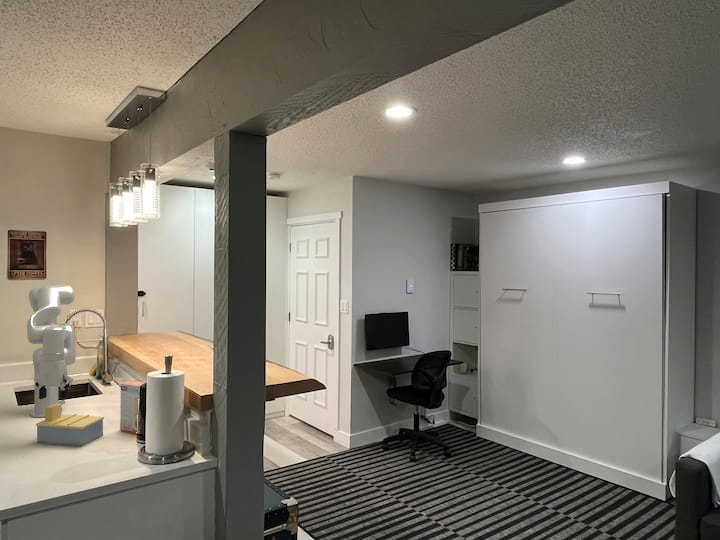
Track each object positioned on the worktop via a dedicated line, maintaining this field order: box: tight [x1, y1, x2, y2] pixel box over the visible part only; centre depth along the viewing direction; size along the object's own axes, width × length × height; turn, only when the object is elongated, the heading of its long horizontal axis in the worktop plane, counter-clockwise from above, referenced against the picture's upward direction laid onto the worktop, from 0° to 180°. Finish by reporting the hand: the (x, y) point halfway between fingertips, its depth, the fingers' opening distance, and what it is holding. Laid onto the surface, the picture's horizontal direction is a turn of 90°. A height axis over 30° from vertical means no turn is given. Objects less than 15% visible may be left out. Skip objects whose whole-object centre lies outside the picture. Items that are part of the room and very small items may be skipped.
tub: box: [36, 419, 104, 447], centre depth 197 cm, size 20×12×7 cm, turn 82°
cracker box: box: [119, 380, 145, 435], centre depth 206 cm, size 14×6×21 cm, turn 65°
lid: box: [35, 404, 105, 429], centre depth 196 cm, size 21×13×6 cm, turn 82°
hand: (53, 398), depth 197 cm, fingers open, 9 cm apart
